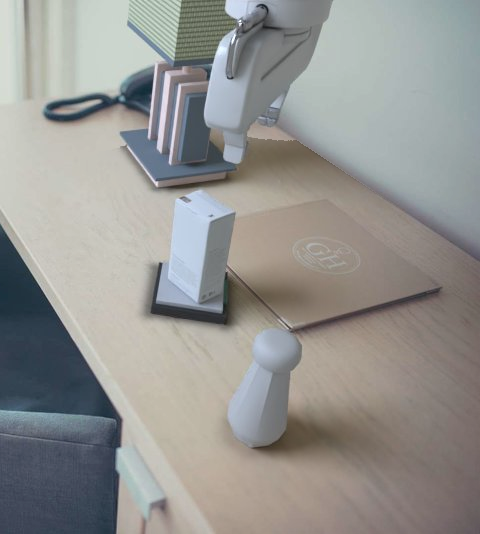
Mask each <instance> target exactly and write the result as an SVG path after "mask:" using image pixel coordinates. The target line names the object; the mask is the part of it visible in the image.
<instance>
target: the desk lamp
mask: <svg viewBox="0 0 480 534" xmlns="http://www.w3.org/2000/svg"><path fill="white" fill-rule="evenodd" d="M225 4H226V0H129V3H128V15H127V24H126V25H127V26H126V27H128V28H129V29H131V30H132V31H133V32H134V33H135V34H136V35H137V36H138V37H139V38H140V39H141V40H142V41H143V42H144V43H146V44H147V45H148V46H149V47H150V48H151V49H152V50H153V51H154V52H155V53H157V54H158V55H159V56H160V57H161V58H162V59H164V60H161V61H159V60H158V61H155V62H154V63H155V64H154V71H153V72H154V73H153V81H152V82H153V83H152V90H151V91H152V92H151V101H150V111H149V120H148V121H149V123H148V127H147V128H139V129H131V130H123V131H119V136H120V137H121V139H122V140H123V141H124V142H125V144H126V148H127V149H128V150H129V151H130V153H131V154H132V156H133V157H134V159H135V160H136V161H137V162H138V164H139V165H140V167H141V168H142V169H143V171H144V172H145V173H146V174H147V176H148V177H149V178H150V180H151V181H152V182H153V184H154V185H155V187H156V188H157V189H159V188H166V187H173V186H178V185H179V186H180V185H188V184H193V183H201V182H209V181H210V182H211V181H216V180H224V179H226V175H227V173H229V172H237V171H238V167H237V166H236V164H235V163H231V162H228V161H226V160H225V159H224V157H223V154H224V152H222V150H221V149H220V148H219V147H218V146H217V145H216V144H215V143H214V142H213V141H212V140H211V134H212V128H209V127H208V126H207V125H206V123H205V119H204V109H205V103H206V97H207V92H208V86H209V81H210V80H207V78H208V72H207V71H206V70H205V69H204V68H202V67H196V68H193V67H194V66H202V65H204V66H205V65H213V62H214V58H215V54H216V51H217V48H218V46H219V44H220V42H221V40H222V39H223V38H224V36H225V35H227V34H228V33H230V32H231V31H232V30H234V29H235V28H236V23H237V21H238V20H237V19H234V18H232V17H231V16H229V15H228V14H227V13H226V11H225Z"/></svg>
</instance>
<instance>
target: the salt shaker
mask: <svg viewBox="0 0 480 534" xmlns="http://www.w3.org/2000/svg"><path fill="white" fill-rule="evenodd" d="M251 354H252V357H253V361H252V362H251V364H250V366H249V367H248V369H247V371H246V373H245V375H244V377H243V378H242V380H241V382H240V384H239V386H238V387H237V389H236V391H235V392H234V394H233V396H232V397H231V400H230V401H229V403H228V407H227V420H228V422H229V425H230V428H231V430H232V433H233V437H234V438H235V439H236V440H238V441H239V442H241V443H242V444H244V445H246V446H247V447H249V448H250V449H254V448H260V447H267V446H270V445H271V444H273V443H275V442H277V441H278V440H280V438H281V436H283V434H284V432H285V431H286V430H287V427H288V426H287V425H288V413H289V412H288V411H289V400H290V399H289V398H290V385H291V384H290V383H291V372H292V371H294V370H295V369H296V368H297V366H298V365H299V364H300V362H301V360H302V358H303V357H302V355H303V344H302V343H301V341H300V340H299V338H298V337H297V336H296V335H294V334H293V333H292V332H291V331H289V330H286V329H283V328H281V327H280V328H278V327H269V328H266V329H263V330H260V332H259V333H258V334H257V335H255V337H254V339H253V343H252V349H251Z"/></svg>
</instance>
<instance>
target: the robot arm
mask: <svg viewBox="0 0 480 534" xmlns="http://www.w3.org/2000/svg"><path fill="white" fill-rule="evenodd" d="M333 2H334V0H226V4H225V11H226V13H227V14H228V15H229V16H231V17H232V18H234V19H237V20H238V21H237V23H236V28H235V29H234V30H232V31H231V32H230V33H228V34H227V35H225V36H224V38H223V39H222V40H221V42H220V44H219V46H218V48H217V51H216V54H215V58H214V62H213V64H212V67H211V72H210V77H209V80H208V81H209V86H208V92H207V97H206V103H205V109H204V119H205V123H206V125H207V126H208V127H209V128H211V130H216V131H220V132H221V133H222V137H223V141H224V148H223V157H224V159H225V160H226V161H228V162H231V163H233V164H234V165H239V164H241V163H242V162H243V160H244V159H245V158H246V157H247V154H248V150H249V145H250V141H248V131H250V129H251V127H252V125H253V124H255V122H256V121H257V124H258V125H259V126H263V127H267V128H273V127H274V126H275V125H276V124H277V123H278V122H279V121H280V117H281V113H282V112H281V111H282V107H283V105H284V103H285V100H286V98H287V96H288V94H289V91H290V89H291V85H292V84H293V83H294V82H295V81H297V79H298V78H299V77H300V76H301V75H302V74H303V73H304V72H305V71H306V70H307V68H308V67H309V65H310V63H311V61H312V58H313V56H314V54H315V51H316V47H317V44H318V42H319V39H320V35H321V31H322V28H323V25H324V23H326V21H327V20H328V19H329V16H330V13H331V8H332V4H333Z"/></svg>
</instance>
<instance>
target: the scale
mask: <svg viewBox="0 0 480 534" xmlns="http://www.w3.org/2000/svg"><path fill="white" fill-rule="evenodd" d="M168 271H169V261H162V262H160V261H159V262H158V267H157V271H156V278H155V283H154V289H153V293H152V300H151V306H150V314H153V315H154V314H155V315H161V316H167V317H174V318H181V319H186V320H194V321H200V322H205V323H206V322H207V323H213V324H219V325H225V323H226V321H227V320H226V319H227V306H228V305H227V304H228V292H229V291H228V288H229V279H228V278H229V277H228V276H229V272H228V271H226V273H225V279H224V284H223V290H222V293H221V294H219V295H217V296H215V297H213V298H211V299H209V300H207V301H204V302H202V303H199V304H198V303H197V302H196V301H194V300H193V299H192V298H191V297H189V296H188V295H187V294H186V293H185V292H183V291H182V290H181V289H180V288H179V287H177V286H176V285H175V284H174V283H172V282H171V281H170V280H169V279H168Z"/></svg>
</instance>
